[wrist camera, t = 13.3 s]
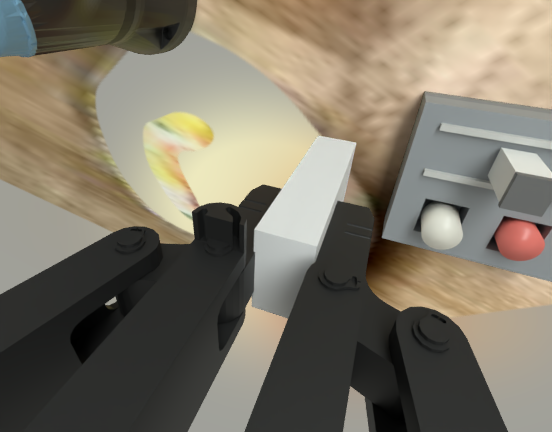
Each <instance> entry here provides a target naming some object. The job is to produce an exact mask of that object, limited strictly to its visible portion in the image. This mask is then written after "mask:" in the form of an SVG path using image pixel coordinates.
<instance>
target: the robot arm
mask: <svg viewBox="0 0 552 432" xmlns="http://www.w3.org/2000/svg"><path fill="white" fill-rule="evenodd" d="M196 5H197V0H0V57H4V56H21V57H31V56H34V55H41V54H47V53H54V52H61V51H67V50H74V49H80V48H87V47H94V46H100V45H107V44H110V45H113V46H116V47H119V48H122V49H125V50H128V51H132V52H135V53H138V54H145V55H152V54H159V53H164V52H167V51H170V50H172V49H174V48H176V47H177V46H178V45H179V44H180V43H182V41H183V40H184V39H185V38H186V36H187V35H188V33H189V31H190V29H191V27H192V24H193V21H194V17H195V12H196ZM355 147H356V143H355V142H350V141H344V140H339V139H334V138H328V137H323V136H318V137H317V138H316V140H315V141H314V142H313V144H312V145H311V147H310V148H309V150H308V151H307V153H306V154H305V156H304V157H303V159H302V160H301V162H300V163H299V165H298V166H297V168H296V169H295V171H294V172H293V173H292V175H291V176H290V178H289V179H288V181H287V182H286V184H285V185H284V187H283V188H282V189H280V188H276V187H271V186H267V185H261V186H259V187H257V188H255V189H253V190H252V191H251V192H250V193H249V194H248V195H247V196H246V198H245V199H244V200H243V201H242V202H241V204H240V205H239V207H237V206H234V205H232V204H226V203H209V204H206V205H203V206H200V207H198V208H197V209H195V210H194V211H192V217H193V227H194V236H195V239H194V241H193V242H192V243H191V244H160V240H159V235H158V234H157V233H156V232H155V231H154V230H153V229H150V228H147V227H136V226H134V227H129V228H123V229H121V230H118V231H116V232H113V233H112V234H110V235H108V236H106V237H104V238H102V239H101V240H99V241H97V242H95V243H94V244H92V245H90V246H88V247H86V248H84V249H82V250H81V251H79V252H77V253H75V254H73V255H72V256H70V257H68V258H66V259H64V260H62V261H61V262H59V263H57V264H55V265H53V266H52V267H50V268H48V269H46V270H44V271H42V272H41V273H39V274H37V275H35V276H34V277H31V278H30V279H28V280H26V281H24V282H22V283H20V284H19V285H17V286H15V287H13V288H12V289H10V290H8V291H6V292H4V293H2V294H0V432H188V430H189V428H190V426H191V424H192V422H193V420H194V418H195V416H196V414H197V412H198V410H199V408H200V406H201V404H202V402H203V400H204V398H205V396H206V395H207V393H208V391H209V389H210V387H211V385H212V383H213V381H214V379H215V377H216V375H217V373H218V371H219V369H220V367H221V365H222V363H223V362H224V360H225V357H226V355H227V354H228V352H229V350H230V348H231V346H232V344H233V342H234V340H235V338H236V336H237V334H238V332H239V330H240V328H241V326H242V325H243V322H244V319H245V307H246V305H247V303H248V301H249V300H250V298H251V296H252V307H255V308H258V309H261V310H264V311H267V312H270V313H273V314H276V315H279V316H282V317H285V318H288V321H287V324H286V326H285V328H284V332H283V334H282V336H281V339H280V341H279V344H278V347H277V349H276V352H275V354H274V357H273V360H272V362H271V365H270V367H269V370H268V372H267V375H266V378H265V380H264V383H263V385H262V388H261V391H260V393H259V396H258V398H257V401H256V403H255V406H254V409H253V411H252V414H251V416H250V419H249V422H248V424H247V427H246V429H245V432H343V427H344V420H345V414H346V408H347V402H348V395H349V389H350V386H351V387H353V388H354V389H355V390H357V391H358V392H360V394H362V395H363V396H365V402H366V410H367V417H368V426H369V432H508V431H507V428H506V426H505V424H504V422H503V419H502V417H501V415H500V412H499V410H498V408H497V406H496V403H495V401H494V399H493V397H492V394H491V392H490V390H489V387H488V385H487V383H486V381H485V378H484V376H483V374H482V372H481V369H480V367H479V365H478V363H477V360H476V358H475V356H474V353H473V351H472V349H471V347H470V344H469V342H468V340H467V338H466V336H465V335H464V333H463V332H462V330H461V329H460V327H459V326H458V325H456V324H455V323H454V322H453V321H452V320H451V319H450V318H449V317H447V316H445V315H443V314H441V313H440V312H438V311H436V310H433V309H429V308H425V307H409V308H407V309H405V310H403V311H401V312H400V311H399V310H397V309H395V308H393V307H392V306H390V305H388V304H387V303H385V302H384V301H382V300H381V299H379V298H378V297H377V296H376V295H375V294H374V293H373V292H372V291H371V289H370V288H369V286H368V284H367V281H366V267H367V261H368V255H369V249H370V243H371V236H372V230H373V224H374V217H373V215H372V213H371V211H370V209H369V208H367V207H363V206H358V205H354V204H350V203H345V202H343V201H344V197H345V192H346V188H347V183H348V179H349V174H350V170H351V165H352V160H353V156H354V151H355ZM114 297H116V300H117V302H115V303H113V304H111V305H105V303H106V302H108V301H109V300H111V299H112V298H114Z"/></svg>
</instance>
